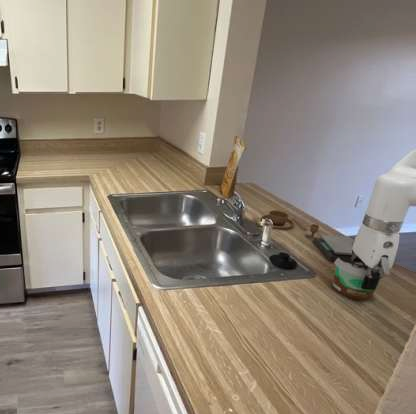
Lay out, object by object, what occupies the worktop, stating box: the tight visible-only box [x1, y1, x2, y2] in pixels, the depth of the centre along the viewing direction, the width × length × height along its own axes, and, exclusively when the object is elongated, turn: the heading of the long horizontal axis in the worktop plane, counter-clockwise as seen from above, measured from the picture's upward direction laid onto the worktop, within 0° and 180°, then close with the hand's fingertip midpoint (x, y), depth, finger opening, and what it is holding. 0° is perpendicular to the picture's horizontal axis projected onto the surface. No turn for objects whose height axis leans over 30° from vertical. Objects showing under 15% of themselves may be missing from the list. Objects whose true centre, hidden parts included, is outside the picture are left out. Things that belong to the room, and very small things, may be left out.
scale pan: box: [319, 234, 354, 255], centre depth 113 cm, size 10×12×1 cm
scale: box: [312, 237, 363, 263], centre depth 114 cm, size 11×13×3 cm
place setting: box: [254, 210, 320, 240], centre depth 131 cm, size 18×20×6 cm
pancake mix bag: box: [220, 135, 247, 199], centre depth 163 cm, size 7×19×28 cm, turn 165°
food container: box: [332, 258, 382, 301], centre depth 91 cm, size 12×6×10 cm, turn 76°
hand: (360, 280), depth 91 cm, fingers closed on food container, 6 cm apart
